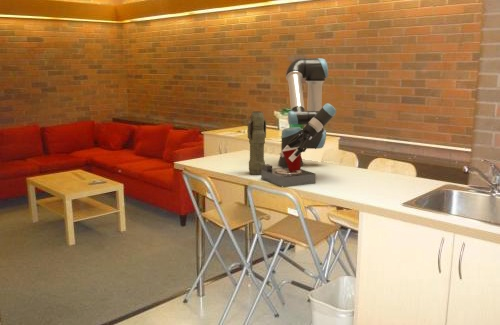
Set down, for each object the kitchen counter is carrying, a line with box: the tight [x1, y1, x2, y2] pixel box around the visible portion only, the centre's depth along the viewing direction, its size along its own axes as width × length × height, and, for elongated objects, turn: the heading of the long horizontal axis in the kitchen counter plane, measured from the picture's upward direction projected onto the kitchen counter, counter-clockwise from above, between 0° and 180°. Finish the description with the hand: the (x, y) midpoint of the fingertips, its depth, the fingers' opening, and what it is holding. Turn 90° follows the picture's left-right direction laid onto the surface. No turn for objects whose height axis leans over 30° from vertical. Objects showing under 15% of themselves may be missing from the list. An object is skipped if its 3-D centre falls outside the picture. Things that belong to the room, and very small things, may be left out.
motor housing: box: [260, 163, 317, 188], centre depth 257 cm, size 22×20×8 cm
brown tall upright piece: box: [247, 110, 267, 176], centre depth 273 cm, size 9×12×35 cm
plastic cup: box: [282, 147, 302, 171], centre depth 254 cm, size 11×11×12 cm
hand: (285, 157), depth 255 cm, fingers open, 13 cm apart
